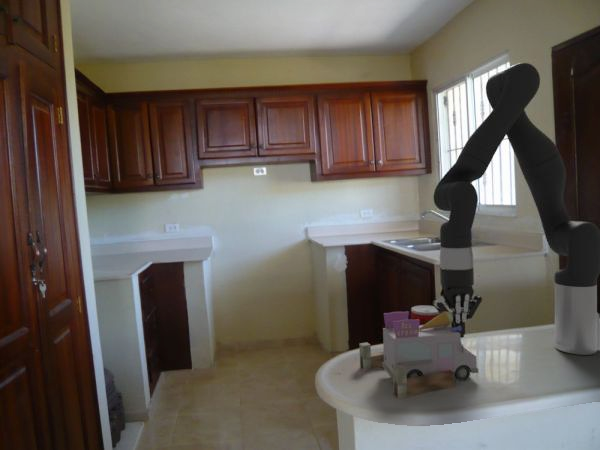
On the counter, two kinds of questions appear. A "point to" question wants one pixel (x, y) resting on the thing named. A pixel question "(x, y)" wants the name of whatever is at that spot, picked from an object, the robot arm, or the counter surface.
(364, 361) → the wooden rails pair
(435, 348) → the toy vehicle
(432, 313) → the canned food
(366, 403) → the counter surface
